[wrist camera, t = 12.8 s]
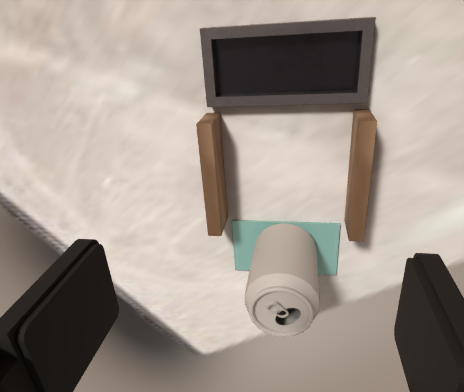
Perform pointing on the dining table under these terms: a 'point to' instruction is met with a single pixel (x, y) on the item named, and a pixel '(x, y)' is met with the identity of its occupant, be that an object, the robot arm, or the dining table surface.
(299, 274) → the can
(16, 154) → the dining table surface
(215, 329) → the dining table surface
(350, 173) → the wooden corridor walls
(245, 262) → the pad
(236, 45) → the tray
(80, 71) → the dining table surface
